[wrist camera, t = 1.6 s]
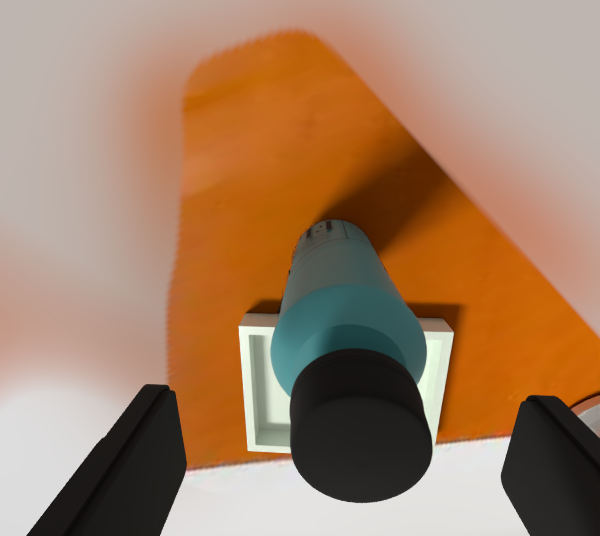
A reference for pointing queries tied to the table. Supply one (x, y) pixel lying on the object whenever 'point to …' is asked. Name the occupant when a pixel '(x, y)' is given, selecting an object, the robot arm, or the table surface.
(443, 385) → the tray
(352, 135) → the table surface
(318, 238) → the beverage bottle
